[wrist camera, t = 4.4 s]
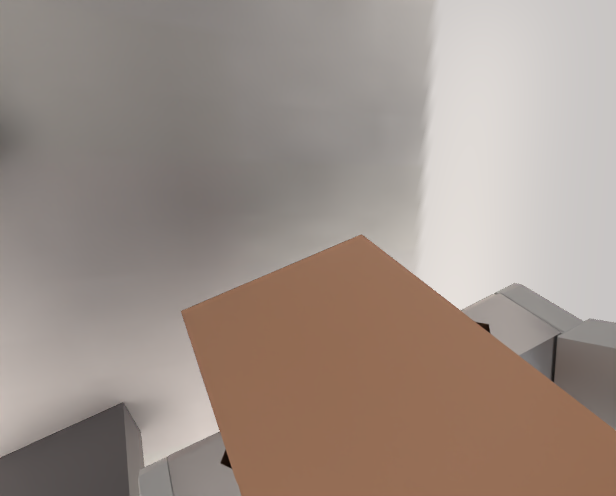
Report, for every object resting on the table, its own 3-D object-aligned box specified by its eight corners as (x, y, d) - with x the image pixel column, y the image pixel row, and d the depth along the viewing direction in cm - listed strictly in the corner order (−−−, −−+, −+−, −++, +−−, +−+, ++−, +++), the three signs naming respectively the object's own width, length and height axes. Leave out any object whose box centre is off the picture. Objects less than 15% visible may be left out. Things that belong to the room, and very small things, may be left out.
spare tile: (180, 311, 11) (366, 881, 4) (361, 234, 12) (772, 551, 5) (205, 364, 12) (393, 909, 5) (371, 287, 13) (732, 624, 6)
